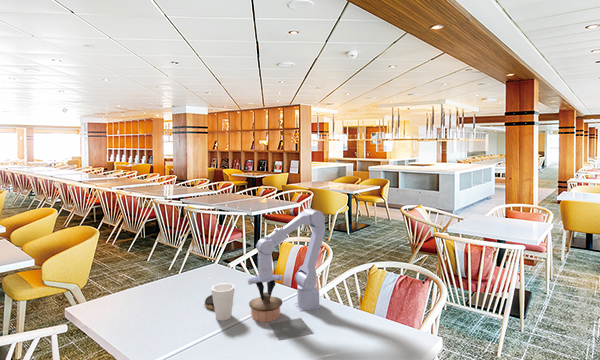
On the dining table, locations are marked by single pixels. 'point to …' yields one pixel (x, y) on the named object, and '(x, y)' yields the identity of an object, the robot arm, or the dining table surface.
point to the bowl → (265, 314)
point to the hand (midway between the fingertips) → (265, 298)
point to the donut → (209, 302)
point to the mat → (290, 329)
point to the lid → (265, 302)
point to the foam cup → (223, 300)
